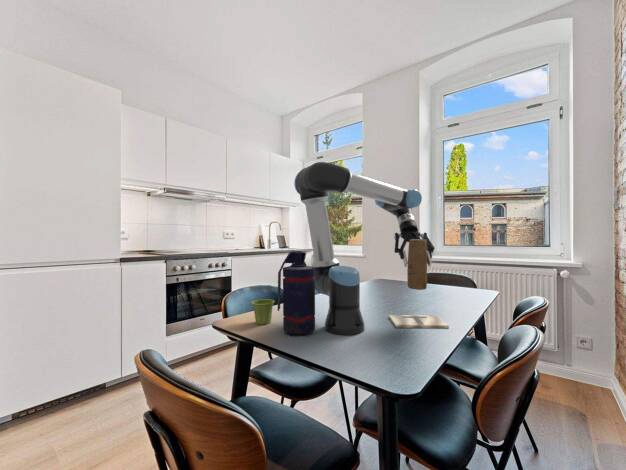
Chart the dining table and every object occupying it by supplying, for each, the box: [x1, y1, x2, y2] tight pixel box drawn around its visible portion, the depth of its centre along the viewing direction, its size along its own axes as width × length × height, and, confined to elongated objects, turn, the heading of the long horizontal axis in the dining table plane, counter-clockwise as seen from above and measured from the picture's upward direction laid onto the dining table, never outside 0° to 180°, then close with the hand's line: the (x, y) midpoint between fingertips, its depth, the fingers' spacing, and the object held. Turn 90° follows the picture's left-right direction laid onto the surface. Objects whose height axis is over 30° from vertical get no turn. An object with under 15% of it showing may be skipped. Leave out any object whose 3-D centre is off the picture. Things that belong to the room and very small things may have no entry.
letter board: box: [388, 314, 450, 329], centre depth 124 cm, size 20×14×1 cm
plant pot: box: [251, 298, 275, 325], centre depth 125 cm, size 9×9×9 cm
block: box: [406, 238, 428, 291], centre depth 124 cm, size 11×8×20 cm
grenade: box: [276, 250, 316, 337], centre depth 113 cm, size 14×12×30 cm
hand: (418, 264), depth 122 cm, fingers closed on block, 9 cm apart
